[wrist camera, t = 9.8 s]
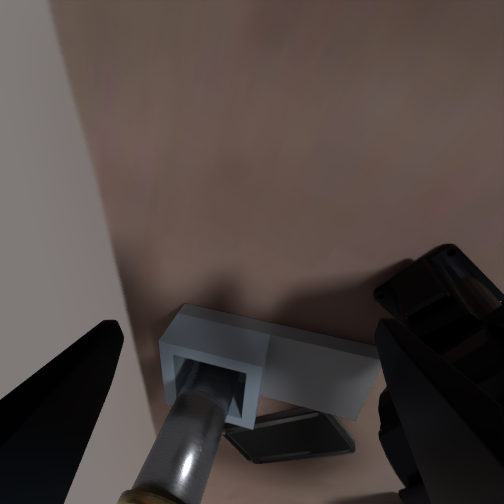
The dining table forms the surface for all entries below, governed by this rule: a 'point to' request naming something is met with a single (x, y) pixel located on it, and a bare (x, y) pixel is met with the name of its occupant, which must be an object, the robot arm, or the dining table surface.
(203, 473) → the pin
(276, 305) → the dining table surface
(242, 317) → the hitch socket
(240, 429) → the phone
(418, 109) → the dining table surface
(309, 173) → the dining table surface
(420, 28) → the dining table surface
